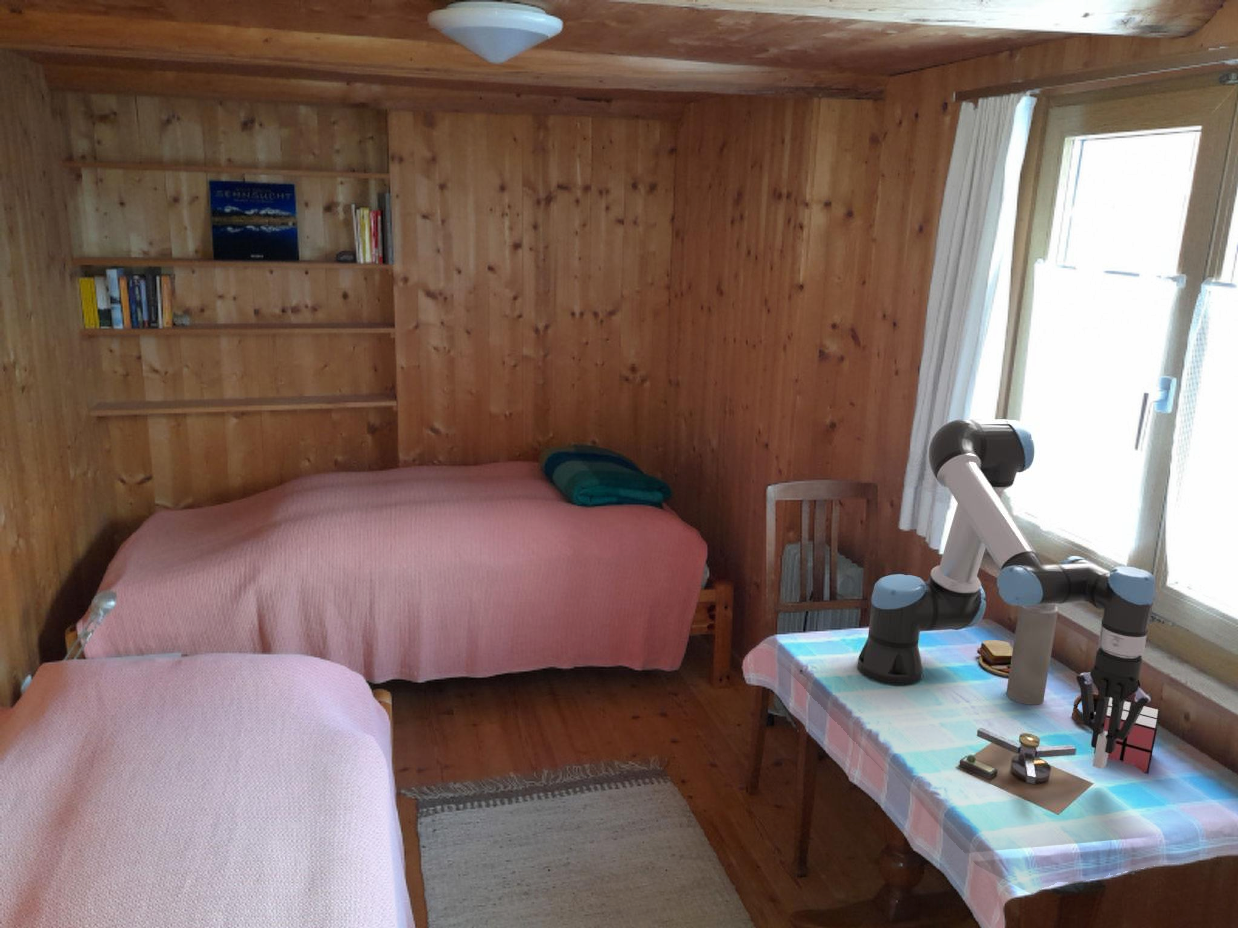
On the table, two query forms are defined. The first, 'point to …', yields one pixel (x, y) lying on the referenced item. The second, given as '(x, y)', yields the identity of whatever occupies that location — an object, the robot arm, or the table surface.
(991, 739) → the cam capstan
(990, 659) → the toy sandwich meal
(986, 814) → the table surface
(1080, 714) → the pottery mug
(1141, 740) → the puzzle cube
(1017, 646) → the thermos bottle
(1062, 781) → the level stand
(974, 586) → the robot arm
